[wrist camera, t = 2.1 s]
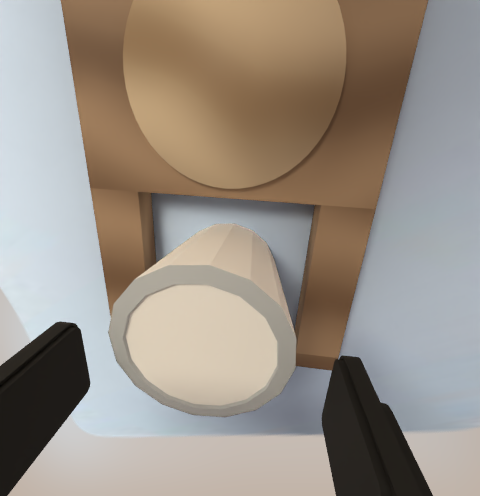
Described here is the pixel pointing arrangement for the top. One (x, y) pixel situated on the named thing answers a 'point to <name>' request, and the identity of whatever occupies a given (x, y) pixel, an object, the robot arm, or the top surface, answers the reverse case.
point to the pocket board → (243, 125)
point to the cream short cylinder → (207, 325)
